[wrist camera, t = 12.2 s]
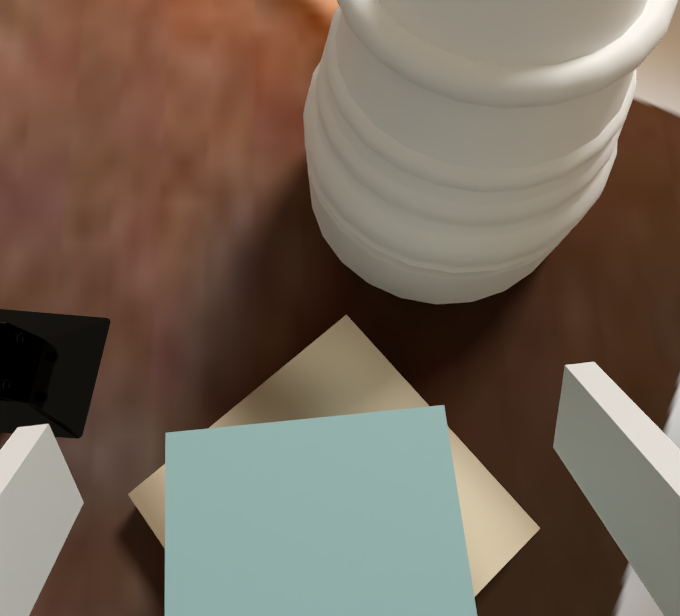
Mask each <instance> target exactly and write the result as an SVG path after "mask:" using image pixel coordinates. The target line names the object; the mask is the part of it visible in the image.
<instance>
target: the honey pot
mask: <svg viewBox="0 0 680 616" xmlns="http://www.w3.org/2000/svg"><path fill="white" fill-rule="evenodd" d="M337 2H338V4H339V6H338V8H337V9H336V11H335V12H334V15H333V19H332V23H331V26H330V30H329V34H328V38H327V42H326V44H325V48H324V51H323V55H322V59H321V61H320V63H319V65H318V66H317V68H316V69H315V71H314V73H313V77H312V80H311V84H310V88H309V92H308V95H307V99H306V103H305V108H304V113H303V117H304V135H305V149H306V156H307V165H308V177H309V185H310V194H311V203H312V209H313V211H314V214H315V217H316V219H317V222H318V225H319V228H320V230H321V233H322V236H323V237H324V239H325V240H326V241H327V243H328V244H329V245H330V247H331V248H332V249H333V251H334V252H335V254H336V255H337V256H338V258H339V259H340V260H341V262H342V263H344V264H345V265H346V266H347V267H349V268H350V269H351V270H352V271H354V272H355V273H356V274H357V275H359V276H360V277H361V278H362V279H364V280H365V281H366V282H367V283H369V284H371V285H373V286H375V287H378V288H380V289H382V290H384V291H386V292H389V293H391V294H393V295H395V296H398V297H400V298H404V299H409V300H415V301H420V302H426V303H431V304H449V303H464V302H473V301H476V300H479V299H482V298H485V297H488V296H491V295H494V294H497V293H500V292H503V291H505V290H507V289H508V288H510V287H511V286H513V285H514V284H516V283H517V282H519V281H520V280H521V279H523V278H524V277H526V276H527V275H529V274H530V273H532V272H533V271H534V270H535V269H536V267H537V266H538V265H539V264H540V263H541V262H542V261H543V260H544V259H545V258H546V257H547V256H548V255H549V254H550V253H551V252H552V251H553V249H554V248H555V247H556V246H557V245H558V244H559V243H560V242H561V241H562V239H563V238H564V237H566V236H567V234H568V233H569V232H570V231H571V229H572V228H573V227H574V226H576V225H577V224H578V223H579V221H580V220H581V219H582V218H583V216H584V215H585V214H586V213H587V211H588V210H589V209H590V208H591V206H592V205H593V204H594V203H595V202H596V200H597V199H598V198H599V197H600V195H601V193H602V191H603V189H604V187H605V184H606V181H607V179H608V176H609V173H610V170H611V168H612V165H613V162H614V160H615V157H616V154H617V140H618V137H619V134H620V132H621V129H622V126H623V124H624V121H625V119H626V116H627V113H628V111H629V108H630V105H631V103H632V100H633V97H634V95H635V92H636V73H637V72H636V70H637V67H638V66H639V65H640V64H641V63H642V62H643V61H644V60H645V58H646V57H647V56H648V55H649V54H650V52H651V51H652V50H653V49H654V48H655V47H656V45H657V44H658V43H659V42H660V41H661V40H662V39H663V37H664V36H665V34H666V32H667V29H668V27H669V24H670V21H671V19H672V16H673V13H674V10H675V8H676V5H677V2H678V0H337Z"/></svg>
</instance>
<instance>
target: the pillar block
mask: <svg viewBox="0 0 680 616" xmlns="http://www.w3.org/2000/svg"><path fill="white" fill-rule="evenodd" d="M165 616H477V611H476V605H475V598H474V592H473V586H472V579H471V573H470V567H469V560H468V554H467V547H466V541H465V535H464V528H463V522H462V516H461V509H460V503H459V497H458V490H457V484H456V477H455V471H454V465H453V458H452V452H451V446H450V439H449V433H448V427H447V420H446V414H445V407H444V405H439V406H429V407H419V408H409V409H399V410H389V411H379V412H369V413H359V414H349V415H339V416H329V417H319V418H309V419H299V420H289V421H279V422H269V423H259V424H249V425H239V426H229V427H219V428H209V429H199V430H189V431H179V432H169V433H166V443H165Z"/></svg>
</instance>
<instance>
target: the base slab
mask: <svg viewBox="0 0 680 616" xmlns="http://www.w3.org/2000/svg"><path fill="white" fill-rule="evenodd" d="M419 407H429V405H428V404H427V403H426V402H425V401H424V400H423V399H422V397H421V396H420V395H419V394H418V393H417V392H416V391H415V390H414V389H413V387H412V386H411V385H410V384H409V383H408V382H407V381H406V380H405V379H404V378H403V376H402V375H401V374H400V373H399V372H398V371H397V370H396V369H395V368H394V367H393V365H392V364H391V363H390V362H389V361H388V360H387V359H386V358H385V357H384V355H383V354H382V353H381V352H380V351H379V350H378V349H377V348H376V347H375V346H374V344H373V343H372V342H371V341H370V340H369V339H368V338H367V337H366V336H365V335H364V333H363V332H362V331H361V330H360V329H359V328H358V327H357V326H356V325H355V323H354V322H353V321H352V320H351V319H350V318H349V317H348V316H347V315H345V316H344V317H343V318H342V319H340V320H339V321H338V322H337V323H336V324H334V325H333V326H332V327H331V328H329V329H328V330H327V331H326V332H325V333H323V334H322V335H321V336H320V337H319V338H317V339H316V340H315V341H314V342H312V343H311V344H310V345H309V346H308V347H306V348H305V349H304V350H303V351H302V352H300V353H299V354H298V355H297V356H295V357H294V358H293V359H292V360H291V361H289V362H288V363H287V364H286V365H285V366H283V367H282V368H281V369H280V370H278V371H277V372H276V373H275V374H274V375H272V376H271V377H270V378H269V379H267V380H266V381H265V382H264V383H263V384H261V385H260V386H259V387H258V388H257V389H255V390H254V391H253V392H252V393H250V394H249V395H248V396H247V397H246V398H244V399H243V400H242V401H241V402H240V403H238V404H237V405H236V406H235V407H233V408H232V409H231V410H230V411H229V412H227V413H226V414H225V415H224V416H223V417H221V418H220V419H219V420H218V421H216V422H215V423H214V424H213V425H212V426H210V427H209V428H219V427H229V426H239V425H249V424H259V423H269V422H279V421H289V420H299V419H309V418H319V417H329V416H339V415H349V414H359V413H369V412H379V411H389V410H399V409H409V408H419ZM447 427H448V426H447ZM209 428H208V429H209ZM448 433H449V439H450V446H451V452H452V458H453V465H454V471H455V477H456V484H457V490H458V497H459V503H460V509H461V516H462V522H463V528H464V535H465V541H466V547H467V554H468V560H469V567H470V573H471V579H472V586H473V592H474V597H475V596H476V595H477V594H478V593H479V592H480V591H481V590H482V589H483V588H484V587H485V585H486V584H487V583H488V582H489V581H490V580H491V579H492V578H493V577H494V576H495V575H496V574H497V573H498V572H499V571H500V570H501V569H502V568H503V567H504V566H505V565H506V564H507V563H508V561H509V560H510V559H511V558H512V557H513V556H514V555H515V554H516V553H517V552H518V551H519V550H520V549H521V548H522V547H523V546H524V545H525V544H526V543H527V542H528V541H529V540H530V538H531V537H532V536H533V535H534V534H535V533H536V532H537V531H538V530H539V529H540V528H539V527H538V525H537V524H536V523H535V522H534V521H533V520H532V519H531V518H530V517H529V516H528V514H527V513H526V512H525V511H524V510H523V509H522V508H521V507H520V506H519V504H518V503H517V502H516V501H515V500H514V499H513V498H512V497H511V496H510V495H509V493H508V492H507V491H506V490H505V489H504V488H503V487H502V486H501V485H500V484H499V482H498V481H497V480H496V479H495V478H494V477H493V476H492V475H491V474H490V472H489V471H488V470H487V469H486V468H485V467H484V466H483V465H482V464H481V463H480V461H479V460H478V459H477V458H476V457H475V456H474V455H473V454H472V453H471V452H470V450H469V449H468V448H467V447H466V446H465V445H464V444H463V443H462V442H461V440H460V439H459V438H458V437H457V436H456V435H455V434H454V433H453V432H452V431H451V429H450V428H449V427H448ZM128 495H129V497H130V498H131V500H132V501H133V503H134V504H135V505H136V507H137V508H138V510H139V511H140V513H141V514H142V516H143V517H144V519H145V520H146V522H147V523H148V525H149V526H150V528H151V529H152V531H153V532H154V534H155V535H156V537H157V538H158V539H159V541H160V542H161V544H162V545H163V547H164V548H165V464H164V465H163V466H162V467H161V468H159V469H158V470H157V471H156V472H154V473H153V474H152V475H151V476H150V477H148V478H147V479H146V480H145V481H144V482H142V483H141V484H140V485H139V486H137V487H136V488H135V489H134V490H133V491H131V492H130V493H129V494H128Z"/></svg>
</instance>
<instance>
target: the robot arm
mask: <svg viewBox="0 0 680 616" xmlns="http://www.w3.org/2000/svg"><path fill="white" fill-rule="evenodd" d="M553 448H554V449H555V451H556V452H557V454H558V455H559V457H560V458H561V460H562V461H563V463H564V464H565V466H566V467H567V469H568V470H569V472H570V473H571V475H572V476H573V478H574V479H575V481H576V482H577V484H578V485H579V487H580V488H581V490H582V492H583V493H584V495H585V496H586V498H587V499H588V501H589V502H590V504H591V505H592V507H593V508H594V510H595V511H596V513H597V514H598V516H599V517H600V519H601V520H602V522H603V523H604V525H605V526H606V528H607V529H608V531H609V533H610V534H611V536H612V537H613V539H614V540H615V542H616V543H617V545H618V546H619V548H620V549H621V551H622V552H623V554H624V555H625V557H626V558H627V560H628V561H629V563H630V564H631V566H632V567H633V569H634V570H635V572H636V573H637V575H638V577H639V578H640V580H641V581H642V583H643V584H644V586H645V587H646V589H647V590H648V592H649V593H650V595H651V596H652V598H653V599H654V601H655V602H656V604H657V605H658V607H659V608H660V610H661V611H662V613H663V614H664V616H680V449H679V448H678V447H677V446H676V445H675V444H674V443H673V442H672V441H671V440H670V439H669V438H668V437H667V436H666V435H665V434H664V433H663V432H662V431H661V430H660V429H659V428H658V427H657V426H656V425H655V424H654V422H653V421H652V420H651V419H650V418H649V417H648V416H647V415H646V414H645V413H644V412H643V411H642V410H641V409H640V408H639V407H638V406H637V405H636V404H635V403H634V402H633V401H632V400H631V399H630V398H629V397H628V396H627V395H626V394H625V393H624V392H623V391H622V390H621V389H620V388H619V387H618V386H617V385H616V384H615V383H614V382H613V381H612V380H611V379H610V378H609V377H608V376H607V375H606V374H605V372H604V371H603V370H602V369H601V368H600V367H599V366H598V365H597V364H596V363H595V362H588V363H579V364H571V365H565V368H564V375H563V382H562V389H561V396H560V403H559V410H558V417H557V424H556V431H555V437H554V444H553ZM83 503H84V502H83V500H82V498H81V496H80V493H79V491H78V489H77V486H76V484H75V482H74V480H73V477H72V475H71V473H70V471H69V468H68V466H67V464H66V462H65V459H64V457H63V455H62V452H61V450H60V448H59V446H58V443H57V441H56V439H55V437H54V434H53V432H52V430H51V428H50V425H49V424H42V425H33V426H24V427H17V429H16V430H15V431H14V433H13V434H12V435H11V437H10V438H9V439H8V441H7V442H6V443H5V445H4V446H3V447H2V449H1V450H0V616H29V615H30V612H31V610H32V608H33V606H34V604H35V602H36V600H37V598H38V596H39V594H40V592H41V590H42V588H43V586H44V584H45V581H46V579H47V577H48V575H49V573H50V571H51V569H52V567H53V565H54V563H55V561H56V559H57V557H58V555H59V552H60V550H61V548H62V546H63V544H64V542H65V540H66V538H67V536H68V534H69V532H70V530H71V528H72V526H73V524H74V521H75V519H76V517H77V515H78V513H79V511H80V509H81V507H82V505H83Z"/></svg>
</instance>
